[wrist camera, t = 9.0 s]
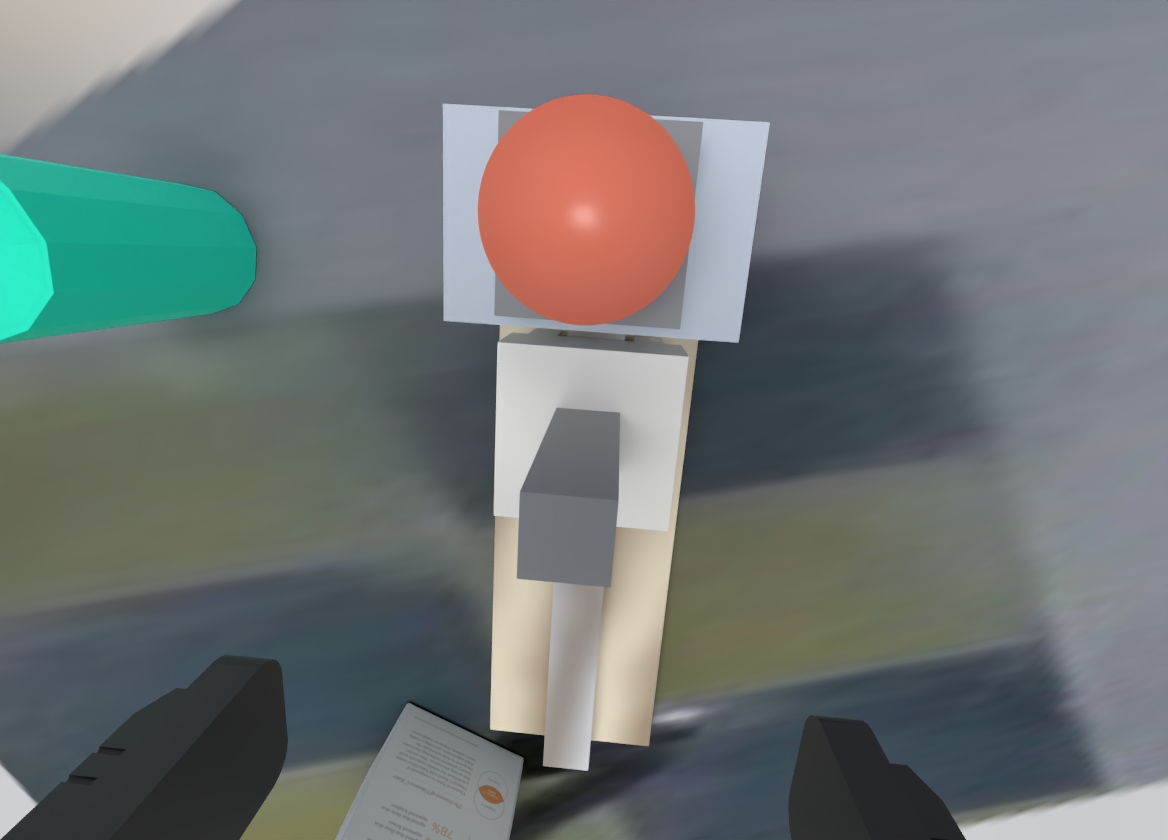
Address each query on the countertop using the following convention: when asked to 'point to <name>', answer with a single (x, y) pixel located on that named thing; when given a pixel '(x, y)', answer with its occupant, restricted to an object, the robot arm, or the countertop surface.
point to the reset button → (586, 209)
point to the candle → (112, 250)
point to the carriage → (584, 446)
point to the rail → (618, 621)
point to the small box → (435, 785)
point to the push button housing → (708, 273)
